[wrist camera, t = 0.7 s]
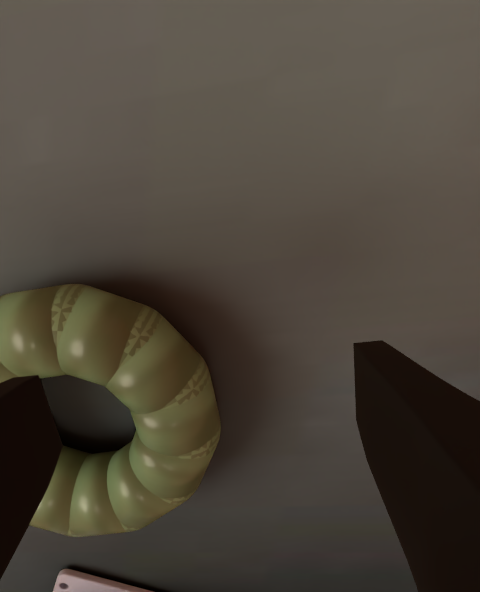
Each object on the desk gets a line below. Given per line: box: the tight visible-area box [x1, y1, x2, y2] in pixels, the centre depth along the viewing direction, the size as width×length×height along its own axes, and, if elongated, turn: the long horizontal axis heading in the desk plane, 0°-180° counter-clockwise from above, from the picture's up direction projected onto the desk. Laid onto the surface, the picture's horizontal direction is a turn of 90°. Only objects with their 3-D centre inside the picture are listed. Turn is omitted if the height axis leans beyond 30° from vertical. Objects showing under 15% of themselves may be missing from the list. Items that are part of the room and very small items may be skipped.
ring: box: [0, 284, 221, 537], centre depth 20 cm, size 12×12×4 cm
